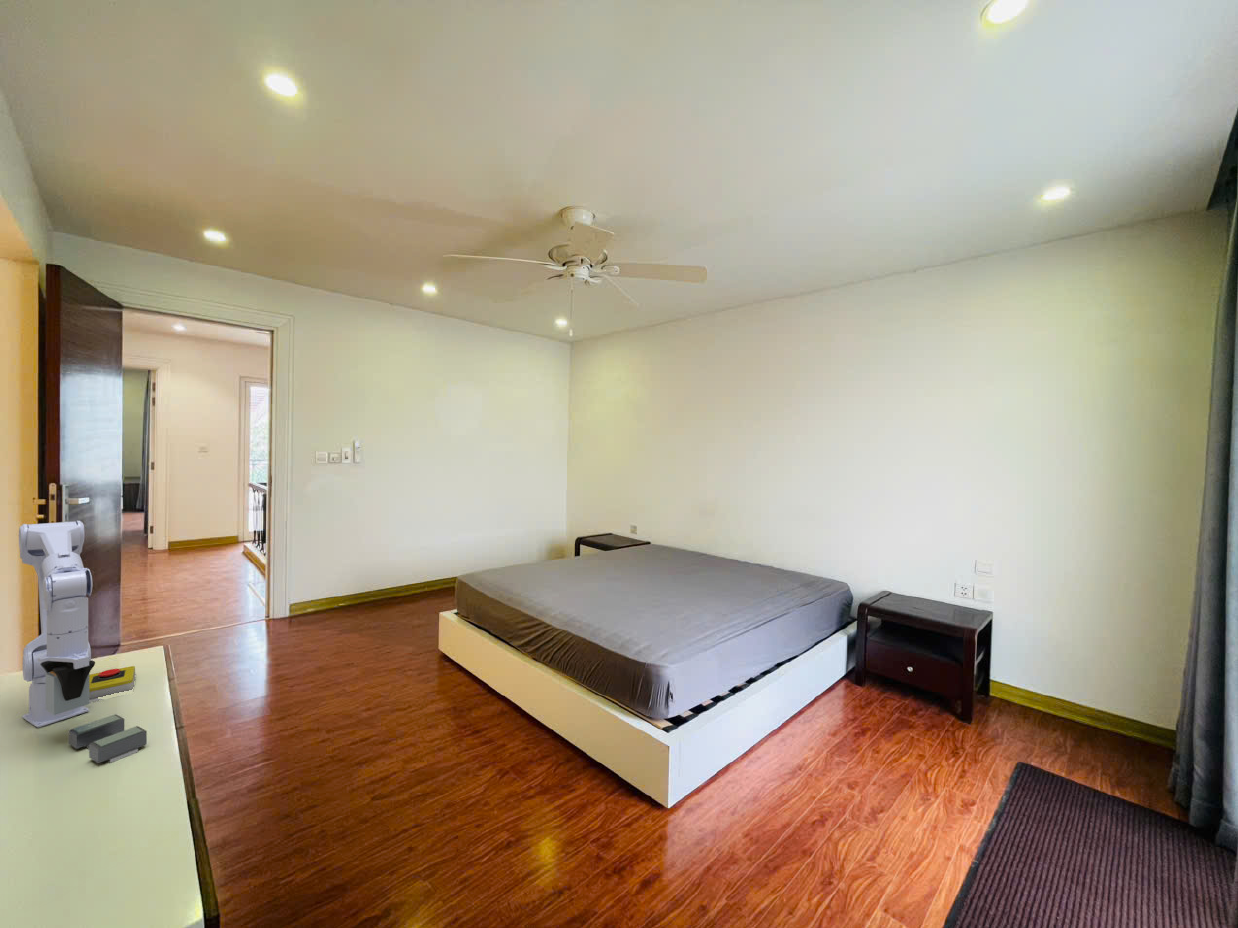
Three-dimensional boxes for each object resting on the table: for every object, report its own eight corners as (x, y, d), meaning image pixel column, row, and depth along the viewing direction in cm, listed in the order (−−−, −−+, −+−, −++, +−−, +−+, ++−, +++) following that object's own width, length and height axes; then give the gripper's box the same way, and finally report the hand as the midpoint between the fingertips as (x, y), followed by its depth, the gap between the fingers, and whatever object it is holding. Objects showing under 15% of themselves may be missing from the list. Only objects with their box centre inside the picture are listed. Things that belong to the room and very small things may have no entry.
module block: (45, 709, 100) (45, 672, 100) (80, 699, 105) (80, 663, 105) (54, 715, 98) (54, 676, 98) (89, 704, 103) (89, 667, 103)
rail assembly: (67, 746, 99) (67, 728, 99) (114, 729, 105) (114, 712, 105) (99, 767, 93) (99, 748, 92) (147, 748, 99) (147, 730, 99)
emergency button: (136, 659, 132) (132, 677, 121) (136, 675, 132) (133, 695, 121) (85, 668, 126) (77, 689, 115) (85, 685, 126) (77, 708, 115)
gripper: (25, 630, 101) (25, 696, 101) (52, 642, 95) (52, 713, 95) (75, 620, 107) (74, 682, 108) (103, 631, 101) (103, 697, 101)
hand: (67, 695), depth 102 cm, fingers closed on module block, 4 cm apart
